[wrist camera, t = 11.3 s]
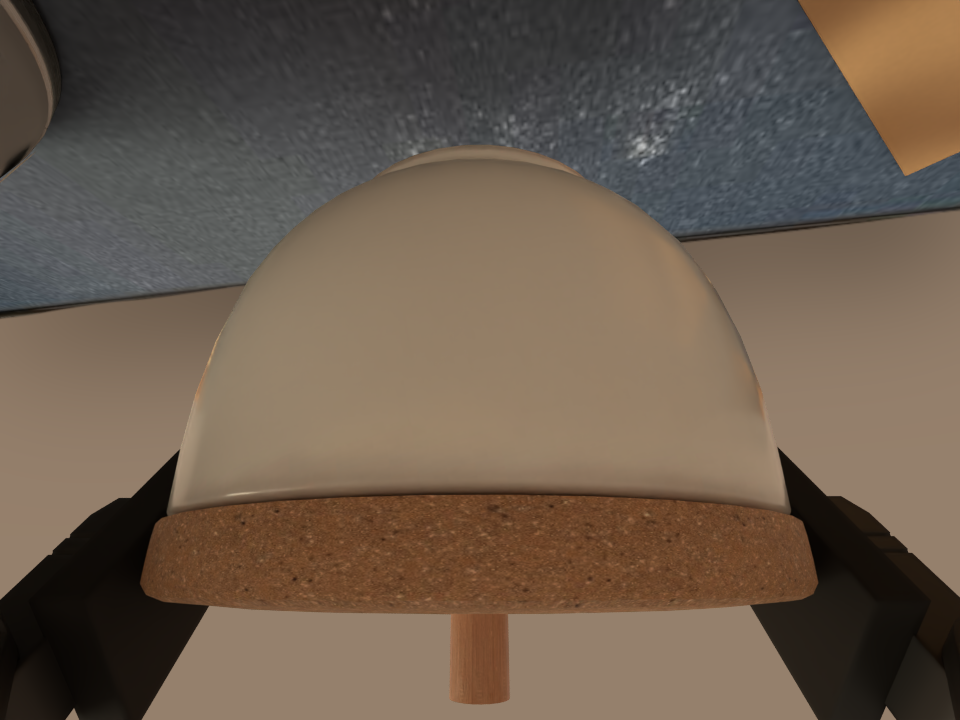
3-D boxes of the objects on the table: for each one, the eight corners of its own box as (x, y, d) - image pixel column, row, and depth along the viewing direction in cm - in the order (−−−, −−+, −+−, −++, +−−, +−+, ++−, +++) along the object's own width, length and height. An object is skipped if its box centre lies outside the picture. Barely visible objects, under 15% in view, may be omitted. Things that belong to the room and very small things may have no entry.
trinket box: (626, 341, 18) (665, 655, 14) (307, 333, 17) (260, 659, 13) (851, 41, 8) (1175, 827, 4) (121, -1, 7) (-241, 868, 4)
